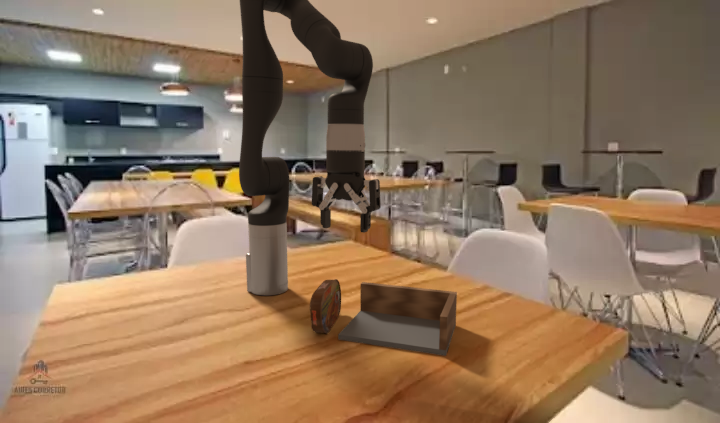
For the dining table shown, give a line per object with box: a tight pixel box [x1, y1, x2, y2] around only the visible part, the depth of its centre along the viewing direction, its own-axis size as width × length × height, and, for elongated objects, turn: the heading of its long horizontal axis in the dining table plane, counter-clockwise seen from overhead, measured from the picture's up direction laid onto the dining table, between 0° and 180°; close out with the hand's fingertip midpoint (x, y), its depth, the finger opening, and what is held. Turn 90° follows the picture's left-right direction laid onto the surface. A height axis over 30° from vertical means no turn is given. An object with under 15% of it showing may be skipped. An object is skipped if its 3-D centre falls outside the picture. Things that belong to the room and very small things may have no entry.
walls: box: [360, 281, 458, 350], centre depth 86 cm, size 20×14×6 cm
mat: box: [337, 310, 457, 357], centre depth 86 cm, size 20×14×1 cm
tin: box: [309, 278, 342, 334], centre depth 90 cm, size 15×3×8 cm, turn 168°
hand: (345, 229), depth 89 cm, fingers open, 8 cm apart
